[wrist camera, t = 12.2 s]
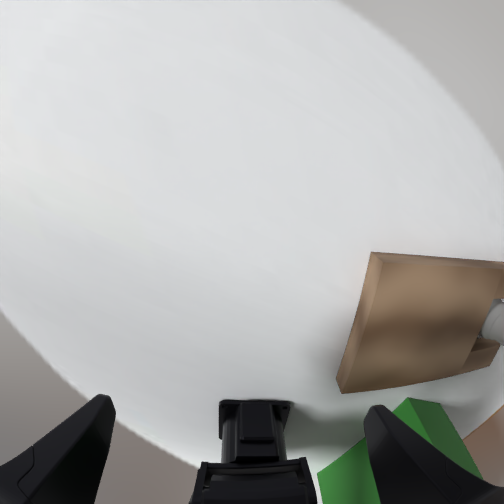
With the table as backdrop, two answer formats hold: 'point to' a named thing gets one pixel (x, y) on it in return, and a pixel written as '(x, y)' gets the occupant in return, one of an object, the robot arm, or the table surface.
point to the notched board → (420, 321)
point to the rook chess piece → (494, 322)
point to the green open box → (358, 465)
